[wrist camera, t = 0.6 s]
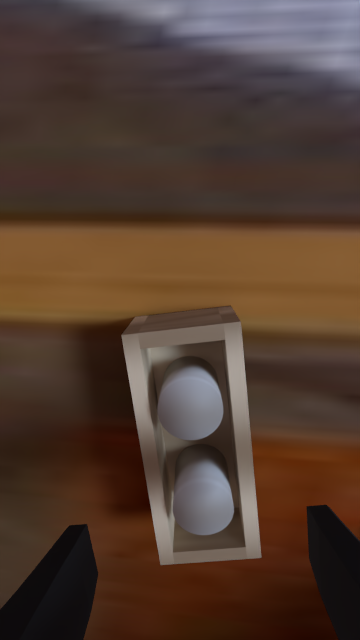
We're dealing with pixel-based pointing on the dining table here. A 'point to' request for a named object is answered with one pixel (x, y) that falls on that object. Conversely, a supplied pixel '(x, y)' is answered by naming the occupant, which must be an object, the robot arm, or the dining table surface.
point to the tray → (227, 436)
